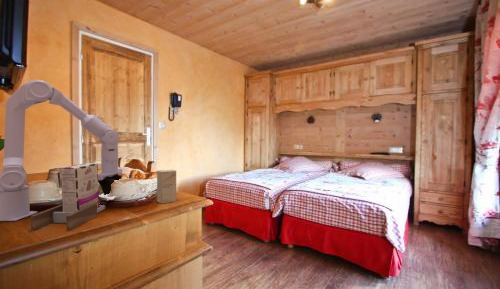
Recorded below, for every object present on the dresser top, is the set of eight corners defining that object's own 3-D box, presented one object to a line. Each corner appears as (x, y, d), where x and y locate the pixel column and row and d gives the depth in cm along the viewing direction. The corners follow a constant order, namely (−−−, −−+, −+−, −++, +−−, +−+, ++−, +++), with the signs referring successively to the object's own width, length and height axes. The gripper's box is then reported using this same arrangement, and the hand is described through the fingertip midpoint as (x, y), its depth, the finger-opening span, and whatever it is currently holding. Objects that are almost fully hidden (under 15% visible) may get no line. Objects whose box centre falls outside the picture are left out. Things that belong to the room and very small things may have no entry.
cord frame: (53, 222, 71) (52, 205, 71) (103, 200, 96) (103, 187, 96) (78, 222, 71) (78, 205, 71) (122, 200, 96) (121, 187, 96)
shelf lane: (30, 230, 66) (30, 216, 66) (63, 216, 77) (63, 203, 77) (70, 230, 66) (69, 216, 66) (97, 215, 78) (96, 203, 77)
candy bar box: (85, 210, 83) (83, 163, 82) (100, 210, 83) (98, 162, 83) (61, 222, 72) (59, 167, 71) (78, 222, 72) (77, 167, 71)
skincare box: (161, 204, 91) (160, 172, 90) (156, 201, 94) (156, 170, 94) (177, 201, 95) (176, 170, 95) (172, 198, 98) (171, 169, 98)
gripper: (109, 162, 87) (110, 200, 87) (129, 158, 101) (129, 190, 102) (89, 162, 87) (90, 200, 87) (112, 158, 101) (113, 190, 102)
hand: (110, 195), depth 95 cm, fingers open, 3 cm apart
